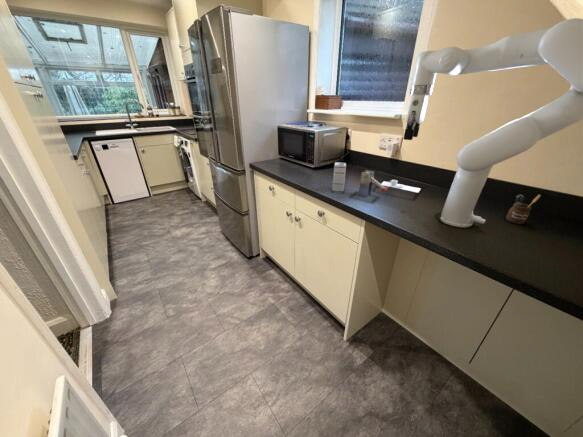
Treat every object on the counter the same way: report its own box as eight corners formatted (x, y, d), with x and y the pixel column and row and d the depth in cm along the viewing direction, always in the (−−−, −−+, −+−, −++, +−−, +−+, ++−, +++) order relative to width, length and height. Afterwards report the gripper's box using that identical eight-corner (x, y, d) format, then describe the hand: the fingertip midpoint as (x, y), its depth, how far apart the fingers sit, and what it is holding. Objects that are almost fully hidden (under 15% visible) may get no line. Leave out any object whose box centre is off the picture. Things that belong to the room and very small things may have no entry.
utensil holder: (503, 216, 98) (516, 189, 92) (522, 219, 96) (537, 192, 90) (507, 222, 93) (521, 194, 88) (527, 225, 91) (543, 197, 85)
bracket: (378, 197, 115) (383, 172, 109) (371, 203, 109) (376, 176, 103) (357, 192, 121) (361, 167, 115) (349, 197, 114) (353, 172, 108)
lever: (386, 190, 109) (389, 186, 108) (383, 193, 106) (386, 189, 104) (365, 174, 112) (368, 170, 111) (361, 177, 109) (364, 173, 107)
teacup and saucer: (404, 187, 127) (405, 180, 125) (400, 191, 121) (402, 184, 119) (387, 184, 132) (389, 177, 130) (383, 188, 126) (385, 181, 124)
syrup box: (343, 193, 118) (346, 165, 112) (331, 192, 119) (334, 164, 113) (343, 189, 123) (346, 162, 116) (332, 188, 124) (334, 161, 118)
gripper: (427, 90, 80) (415, 142, 88) (435, 91, 92) (424, 136, 100) (404, 90, 84) (395, 140, 92) (415, 91, 96) (405, 135, 104)
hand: (410, 138), depth 96 cm, fingers open, 9 cm apart
